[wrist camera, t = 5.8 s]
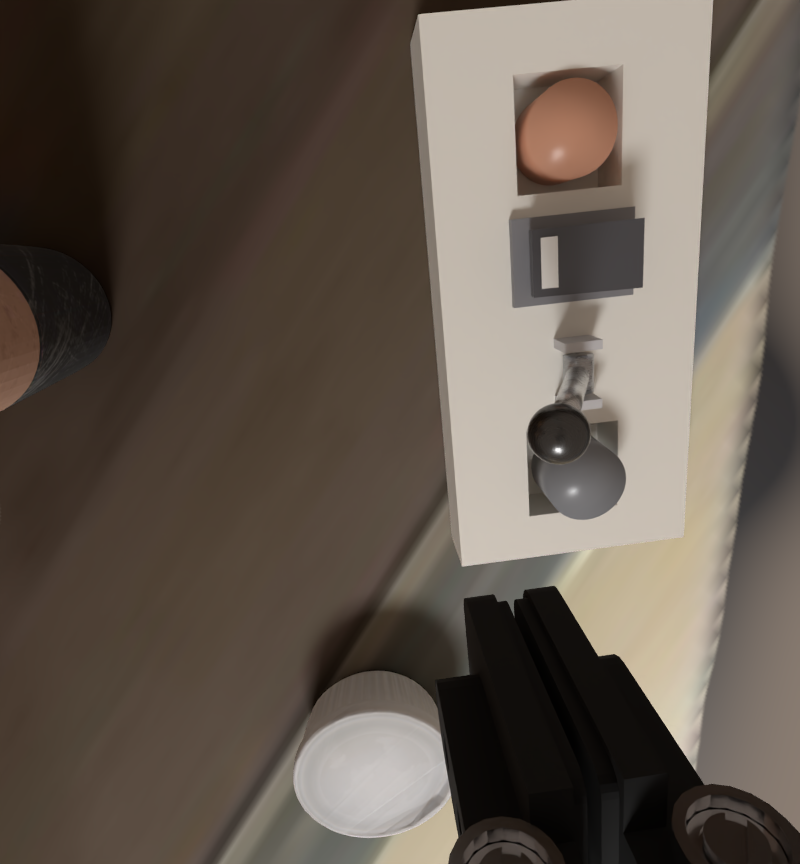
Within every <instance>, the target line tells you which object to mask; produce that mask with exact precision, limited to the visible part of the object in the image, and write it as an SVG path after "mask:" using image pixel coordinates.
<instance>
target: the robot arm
mask: <svg viewBox="0 0 800 864" xmlns="http://www.w3.org/2000/svg"><path fill="white" fill-rule="evenodd" d="M464 613H465V625H466V637H467V648H468V660H469V671H470V675H467V676H460V677H453V678H446V679H439V680H435V687H436V697H437V706H438V715H439V723H440V731H441V738H442V745H443V751H444V758H445V764H446V770H447V775H448V781H449V786H450V792H451V798H452V803H453V809H454V814H455V820H456V825H457V831H458V837H459V838H458V839H457V841H456V843H455V845H454V847H453V849H452V851H451V853H450V857H449V864H800V833H799V832H798V831H797V830H796V829H795V827H793V826H792V825H791V823H790V822H789V821H788V820H787V819H786V818H785V817H783V816H782V815H781V814H780V813H779V812H778V811H777V810H775V809H774V808H773V807H772V806H771V805H770V804H768V803H766V802H764V801H763V800H761V799H759V798H758V797H756V796H754V795H753V794H751V793H748V792H745V791H742V790H740V789H737V788H733V787H731V786H724V785H716V784H709V785H704V784H703V782H702V781H701V779H700V778H699V776H698V775H697V773H696V771H695V770H694V768H693V767H692V765H691V764H690V762H689V761H688V759H687V758H686V756H685V755H684V753H683V752H682V750H681V749H680V747H679V746H678V744H677V743H676V741H675V740H674V738H673V737H672V735H671V733H670V732H669V730H668V729H667V727H666V726H665V724H664V723H663V721H662V720H661V718H660V717H659V715H658V714H657V712H656V711H655V709H654V708H653V706H652V705H651V703H650V702H649V700H648V699H647V697H646V695H645V694H644V692H643V691H642V689H641V688H640V686H639V685H638V683H637V682H636V680H635V679H634V677H633V676H632V674H631V673H630V671H629V670H628V668H627V667H626V665H625V664H624V662H623V661H622V660H621V659H620V657H619V656H617V655H615V654H613V655H606V656H599V657H598V655H597V654H596V652H595V650H594V649H593V647H592V645H591V644H590V642H589V640H588V639H587V637H586V635H585V634H584V632H583V630H582V629H581V627H580V626H579V624H578V622H577V621H576V619H575V617H574V616H573V614H572V612H571V611H570V609H569V607H568V606H567V604H566V602H565V601H564V599H563V597H562V596H561V594H560V592H559V591H558V589H557V588H556V587H555V586H550V587H543V588H536V589H528V590H525V591H524V594H523V599H516V600H515V601H514V615H515V618H514V616H513V613H512V611H511V609H510V606H509V604H508V602H507V601H501V602H497V600H496V598H495V596H494V595H493V594H492V595H485V596H478V597H471V598H464Z"/></svg>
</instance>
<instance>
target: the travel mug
mask: <svg viewBox="0 0 800 864" xmlns="http://www.w3.org/2000/svg"><path fill="white" fill-rule="evenodd" d="M110 330H111V312H110V306H109V303H108V299H107V297H106V295H105V292H104V290H103V289H102V287H101V285H100V283H99V282H98V281H97V279H96V278H95V277H94V276H93V275H92V274H91V272H90V271H89V270H88V269H86V268H85V267H84V266H83V265H82V264H80V263H79V262H77V261H76V260H75V259H73V258H71V257H69V256H67V255H65V254H63V253H61V252H58V251H55V250H51V249H47V248H40V247H32V246H21V245H7V244H0V411H2V410H4V409H6V408H8V407H10V406H12V405H14V404H16V403H18V402H20V401H21V400H23V399H25V398H27V397H29V396H31V395H33V394H35V393H37V392H39V391H41V390H43V389H44V388H46V387H48V386H50V385H52V384H54V383H56V382H58V381H60V380H62V379H64V378H66V377H67V376H69V375H71V374H73V373H75V372H77V371H78V370H80V369H82V368H84V367H85V366H87V365H88V364H90V363H91V362H92V361H93V360H95V359H96V358H97V357H98V355H99V354H100V353H101V352H102V350H103V349H104V347H105V345H106V343H107V341H108V338H109V334H110Z"/></svg>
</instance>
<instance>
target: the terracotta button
mask: <svg viewBox="0 0 800 864" xmlns="http://www.w3.org/2000/svg"><path fill="white" fill-rule="evenodd" d="M617 130H618V118H617V112H616V109H615V105H614V103H613V101H612V99H611V97H610V96H609V94H608V93H607V92H606V90H605V89H604V88H602V87H601V86H600V85H599V84H597V83H596V82H594V81H591V80H589V79H585V78H568V79H565V80H562V81H559V82H557V83H555V84H554V85H552V86H551V87H550V88H548V89H547V90H546V91H545V92H544V93H542V94H541V95H540V96H539V97H538V98H536V99H535V100H534V101H533V102H532V103H530V104H529V105H528V106H527V107H526V108H525V109H524V110H523V111H522V113H521V114H520V116H519V117H518V119H517V121H516V123H515V142H516V165H517V167H518V168H519V170H520V171H521V172H522V173H523V175H524V176H526V177H527V178H528V179H529V180H531V181H533V182H535V183H537V184H541V185H547V186H548V185H557V184H561V183H564V182H567V181H570V180H573V179H576V178H580V177H583V176H585V175H588V174H590V173H591V172H593V171H594V170H596V169H597V168H598V167H599V166H601V165H602V163H603V162H604V161H605V160H606V159H607V157H608V156H609V154H610V152H611V151H612V148H613V146H614V143H615V140H616V136H617Z"/></svg>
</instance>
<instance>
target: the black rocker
mask: <svg viewBox="0 0 800 864" xmlns="http://www.w3.org/2000/svg"><path fill="white" fill-rule="evenodd" d="M644 227H645V218H638V219H628V220H619V221H610V222H601V223H591V224H582V225H573V226H564V227H555V228H545V229H536V230H529V250H530V281H531V296H532V297H533V298H538V297H548V296H559V295H570V294H580V293H591V292H601V291H612V290H623V289H633V288H643V265H644Z"/></svg>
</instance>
